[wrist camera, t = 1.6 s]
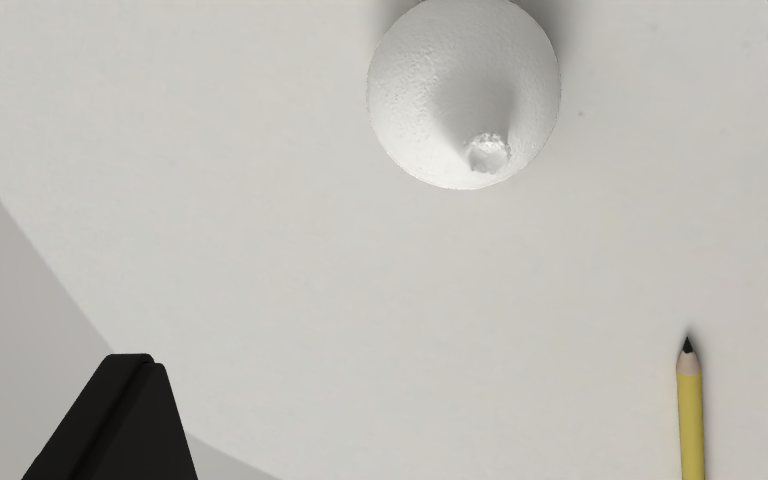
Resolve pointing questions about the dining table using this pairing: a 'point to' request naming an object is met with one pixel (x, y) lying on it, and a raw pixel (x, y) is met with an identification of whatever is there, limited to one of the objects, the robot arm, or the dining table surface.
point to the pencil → (690, 414)
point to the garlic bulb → (463, 91)
